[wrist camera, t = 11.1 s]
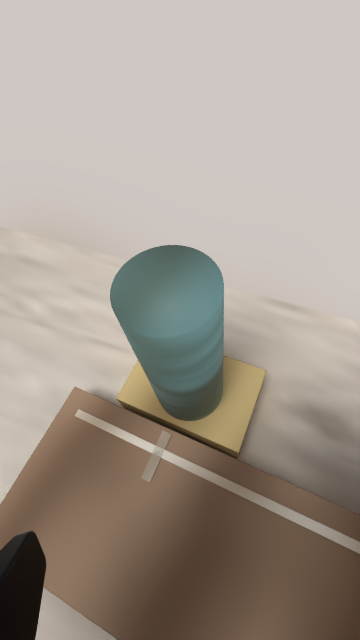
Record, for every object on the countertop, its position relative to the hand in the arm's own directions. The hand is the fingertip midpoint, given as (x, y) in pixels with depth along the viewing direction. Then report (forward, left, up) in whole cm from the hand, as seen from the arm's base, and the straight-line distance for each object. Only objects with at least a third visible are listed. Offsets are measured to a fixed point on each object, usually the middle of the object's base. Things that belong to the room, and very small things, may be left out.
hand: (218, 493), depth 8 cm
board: (-1, +1, -10) cm, 10 cm away
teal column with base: (+5, -3, -10) cm, 12 cm away
